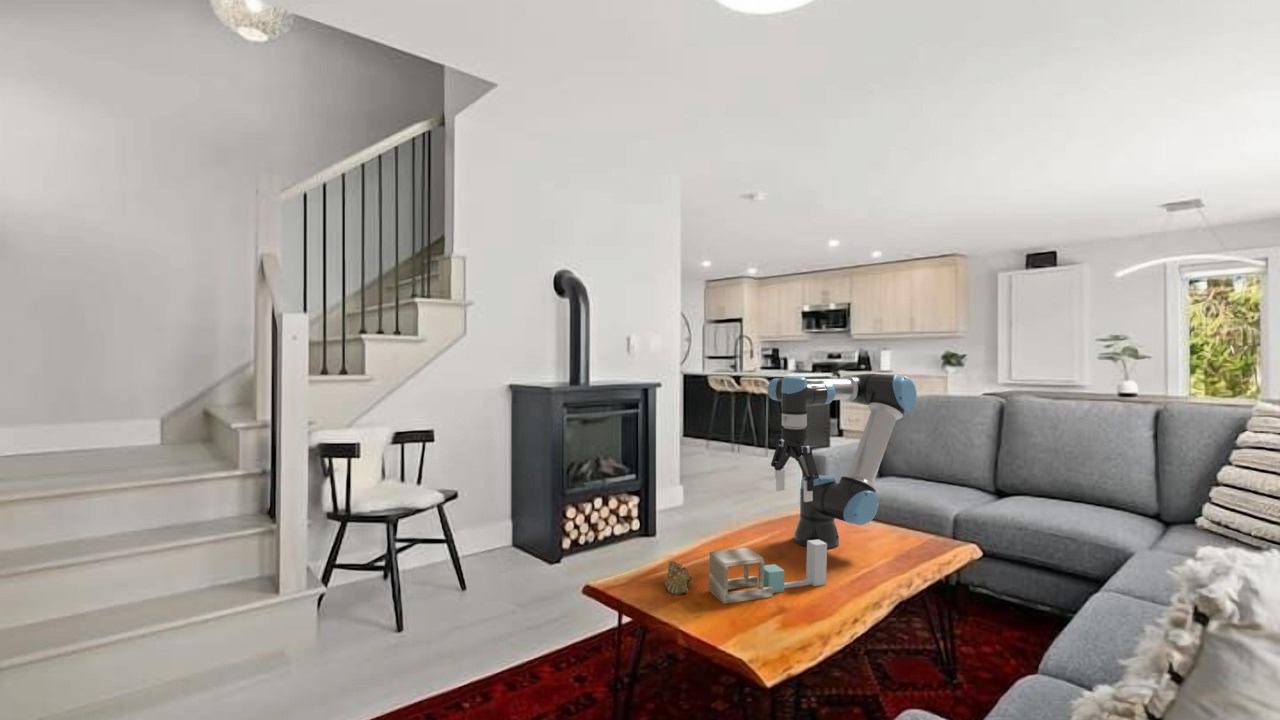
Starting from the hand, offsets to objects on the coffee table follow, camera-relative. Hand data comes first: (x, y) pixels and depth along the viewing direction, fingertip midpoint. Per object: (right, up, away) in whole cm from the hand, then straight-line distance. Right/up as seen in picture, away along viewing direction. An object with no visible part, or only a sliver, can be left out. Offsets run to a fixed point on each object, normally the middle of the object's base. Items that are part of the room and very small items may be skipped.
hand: (793, 495), depth 188 cm
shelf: (-19, -23, -18) cm, 35 cm away
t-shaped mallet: (-3, -23, -12) cm, 27 cm away
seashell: (-37, -23, -14) cm, 46 cm away
